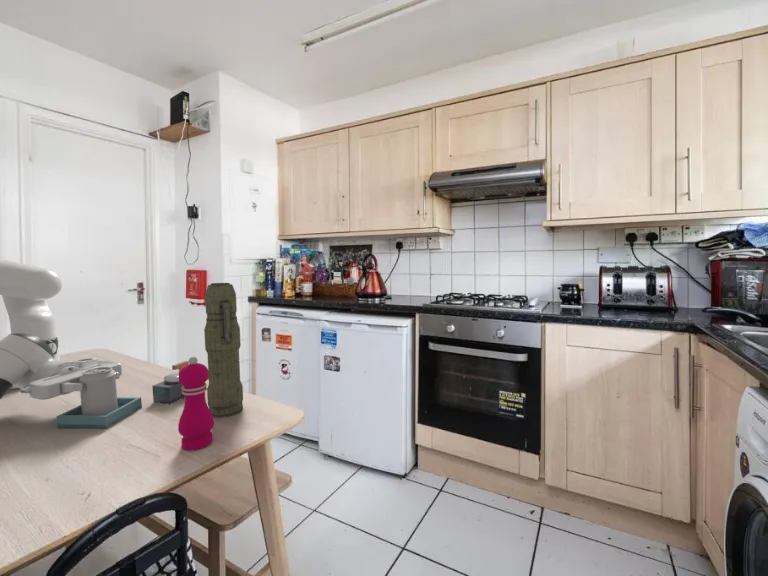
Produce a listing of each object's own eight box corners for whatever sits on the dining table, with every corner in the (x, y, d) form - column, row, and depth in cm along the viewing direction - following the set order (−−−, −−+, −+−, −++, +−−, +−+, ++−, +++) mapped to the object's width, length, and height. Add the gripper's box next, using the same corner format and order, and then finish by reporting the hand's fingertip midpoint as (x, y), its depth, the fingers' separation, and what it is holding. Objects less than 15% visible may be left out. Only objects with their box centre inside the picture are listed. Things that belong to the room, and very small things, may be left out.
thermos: (233, 400, 109) (228, 281, 106) (251, 412, 100) (245, 283, 97) (201, 409, 103) (194, 283, 100) (217, 422, 94) (210, 285, 91)
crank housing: (152, 402, 108) (149, 368, 107) (184, 388, 119) (182, 357, 118) (171, 404, 106) (169, 369, 105) (202, 389, 117) (200, 358, 117)
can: (100, 421, 93) (97, 374, 92) (74, 419, 94) (70, 373, 93) (125, 409, 101) (122, 365, 100) (100, 407, 102) (97, 364, 101)
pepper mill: (191, 455, 79) (186, 363, 77) (172, 446, 82) (167, 358, 81) (221, 441, 85) (217, 355, 83) (203, 433, 88) (198, 351, 87)
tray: (57, 428, 92) (56, 416, 92) (98, 407, 104) (97, 397, 104) (106, 428, 91) (105, 416, 91) (141, 407, 104) (141, 397, 104)
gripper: (14, 378, 90) (55, 382, 86) (99, 356, 110) (135, 359, 106) (16, 403, 90) (57, 408, 87) (100, 377, 110) (137, 380, 106)
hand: (101, 381), depth 96 cm, fingers closed on can, 7 cm apart
